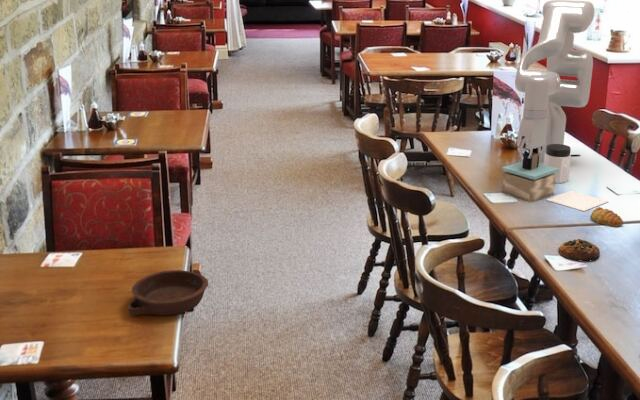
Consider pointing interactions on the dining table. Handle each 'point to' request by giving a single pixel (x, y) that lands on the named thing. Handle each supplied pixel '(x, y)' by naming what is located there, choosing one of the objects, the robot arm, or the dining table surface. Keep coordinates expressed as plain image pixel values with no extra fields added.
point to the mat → (577, 201)
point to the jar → (558, 160)
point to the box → (528, 186)
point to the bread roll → (579, 250)
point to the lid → (534, 172)
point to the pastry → (606, 217)
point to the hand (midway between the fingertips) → (530, 167)
